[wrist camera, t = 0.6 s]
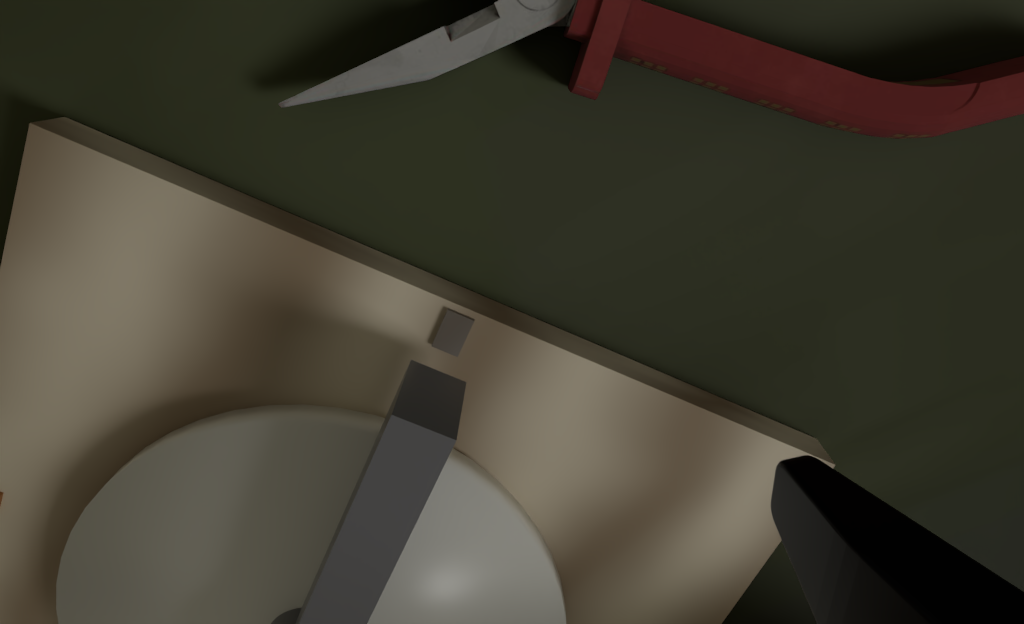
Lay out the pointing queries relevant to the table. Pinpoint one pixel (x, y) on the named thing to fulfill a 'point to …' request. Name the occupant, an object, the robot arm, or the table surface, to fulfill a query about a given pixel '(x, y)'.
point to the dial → (311, 524)
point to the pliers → (700, 68)
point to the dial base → (342, 382)
